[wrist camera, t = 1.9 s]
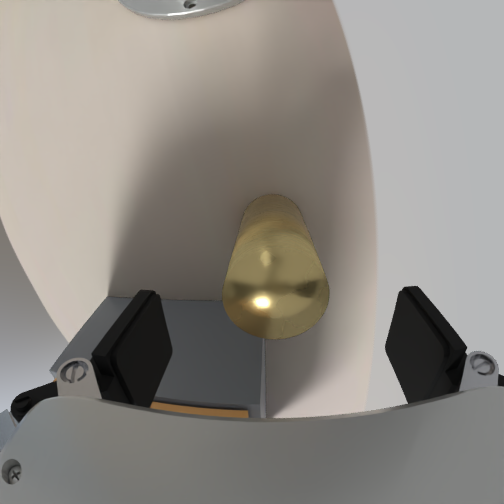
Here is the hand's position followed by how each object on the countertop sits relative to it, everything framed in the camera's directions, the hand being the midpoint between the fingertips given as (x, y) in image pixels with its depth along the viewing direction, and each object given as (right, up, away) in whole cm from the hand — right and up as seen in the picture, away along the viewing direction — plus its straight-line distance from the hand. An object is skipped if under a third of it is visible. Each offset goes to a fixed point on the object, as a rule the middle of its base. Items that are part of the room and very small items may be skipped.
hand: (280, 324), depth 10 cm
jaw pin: (0, +5, +8) cm, 9 cm away
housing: (-7, -9, +15) cm, 19 cm away
